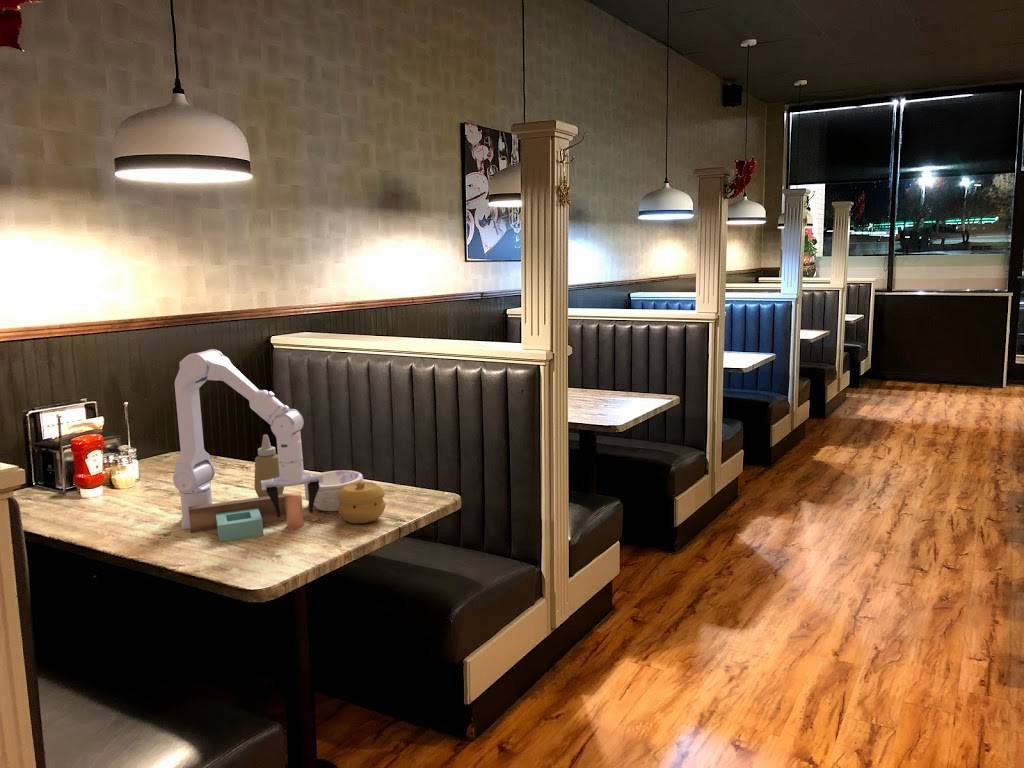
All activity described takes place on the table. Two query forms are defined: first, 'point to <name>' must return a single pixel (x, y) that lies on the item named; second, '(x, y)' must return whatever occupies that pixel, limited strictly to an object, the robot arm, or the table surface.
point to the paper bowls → (333, 488)
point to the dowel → (294, 510)
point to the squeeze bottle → (266, 467)
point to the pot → (361, 502)
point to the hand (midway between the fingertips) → (294, 514)
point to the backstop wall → (206, 514)
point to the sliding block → (239, 524)
